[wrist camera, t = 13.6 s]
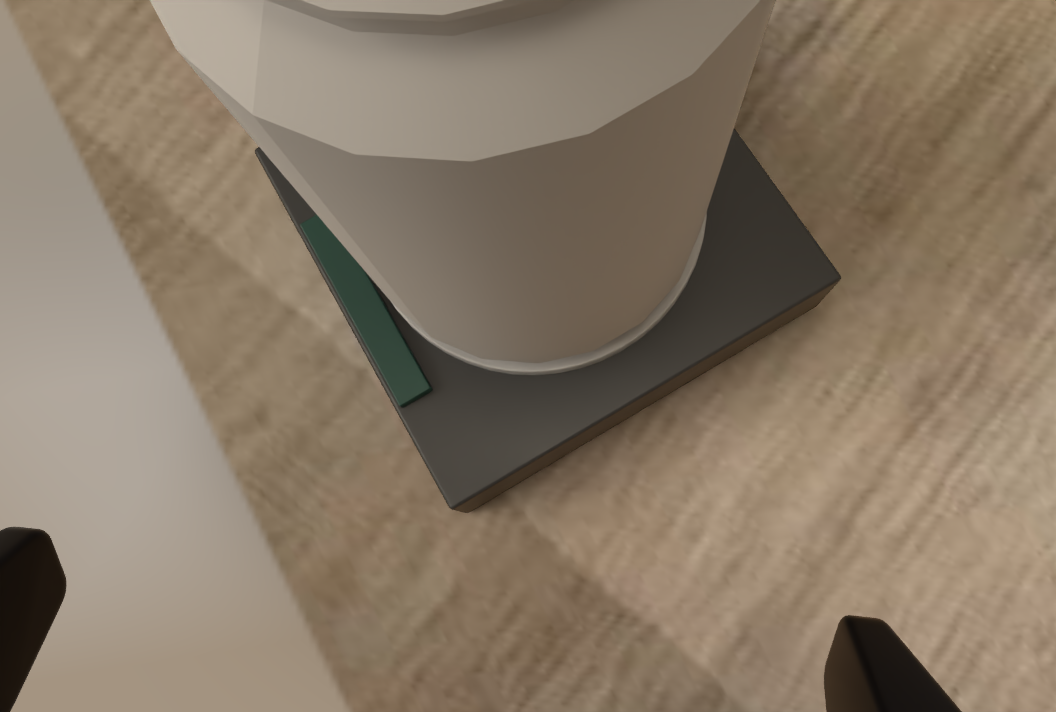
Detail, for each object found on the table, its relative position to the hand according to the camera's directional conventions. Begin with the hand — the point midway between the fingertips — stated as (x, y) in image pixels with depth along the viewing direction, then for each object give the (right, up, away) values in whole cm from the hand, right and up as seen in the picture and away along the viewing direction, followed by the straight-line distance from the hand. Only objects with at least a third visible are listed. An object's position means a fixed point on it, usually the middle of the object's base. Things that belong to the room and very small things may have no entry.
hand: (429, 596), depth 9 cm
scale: (+1, +6, +12) cm, 13 cm away
